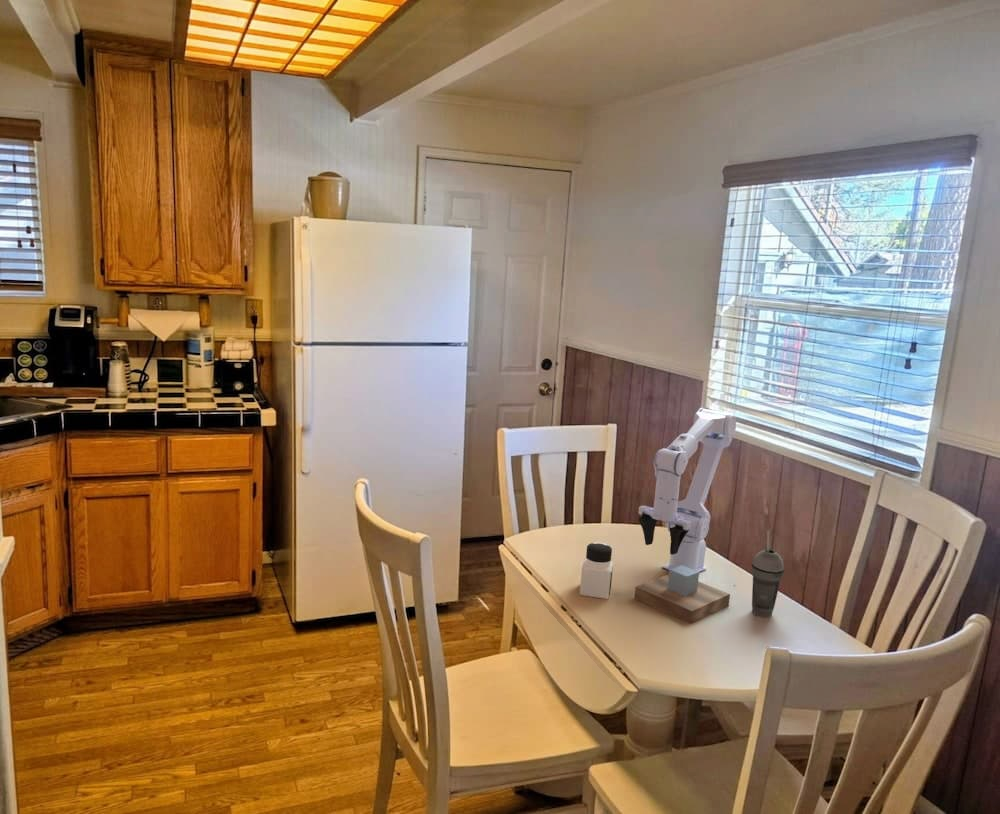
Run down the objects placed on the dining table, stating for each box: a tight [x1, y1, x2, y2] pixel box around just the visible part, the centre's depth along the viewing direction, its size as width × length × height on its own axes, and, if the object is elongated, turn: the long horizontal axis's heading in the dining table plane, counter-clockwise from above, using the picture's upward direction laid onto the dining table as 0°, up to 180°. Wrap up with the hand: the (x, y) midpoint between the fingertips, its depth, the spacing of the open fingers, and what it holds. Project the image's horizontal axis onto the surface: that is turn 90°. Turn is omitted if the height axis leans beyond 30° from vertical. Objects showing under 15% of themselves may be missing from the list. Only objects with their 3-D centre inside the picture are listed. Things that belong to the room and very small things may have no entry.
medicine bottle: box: [579, 541, 614, 600], centre depth 185 cm, size 7×7×12 cm
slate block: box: [667, 565, 700, 596], centre depth 182 cm, size 5×5×5 cm
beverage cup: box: [751, 530, 785, 619], centre depth 178 cm, size 7×7×20 cm
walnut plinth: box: [634, 573, 731, 624], centre depth 183 cm, size 16×16×3 cm
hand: (661, 548), depth 191 cm, fingers open, 7 cm apart
